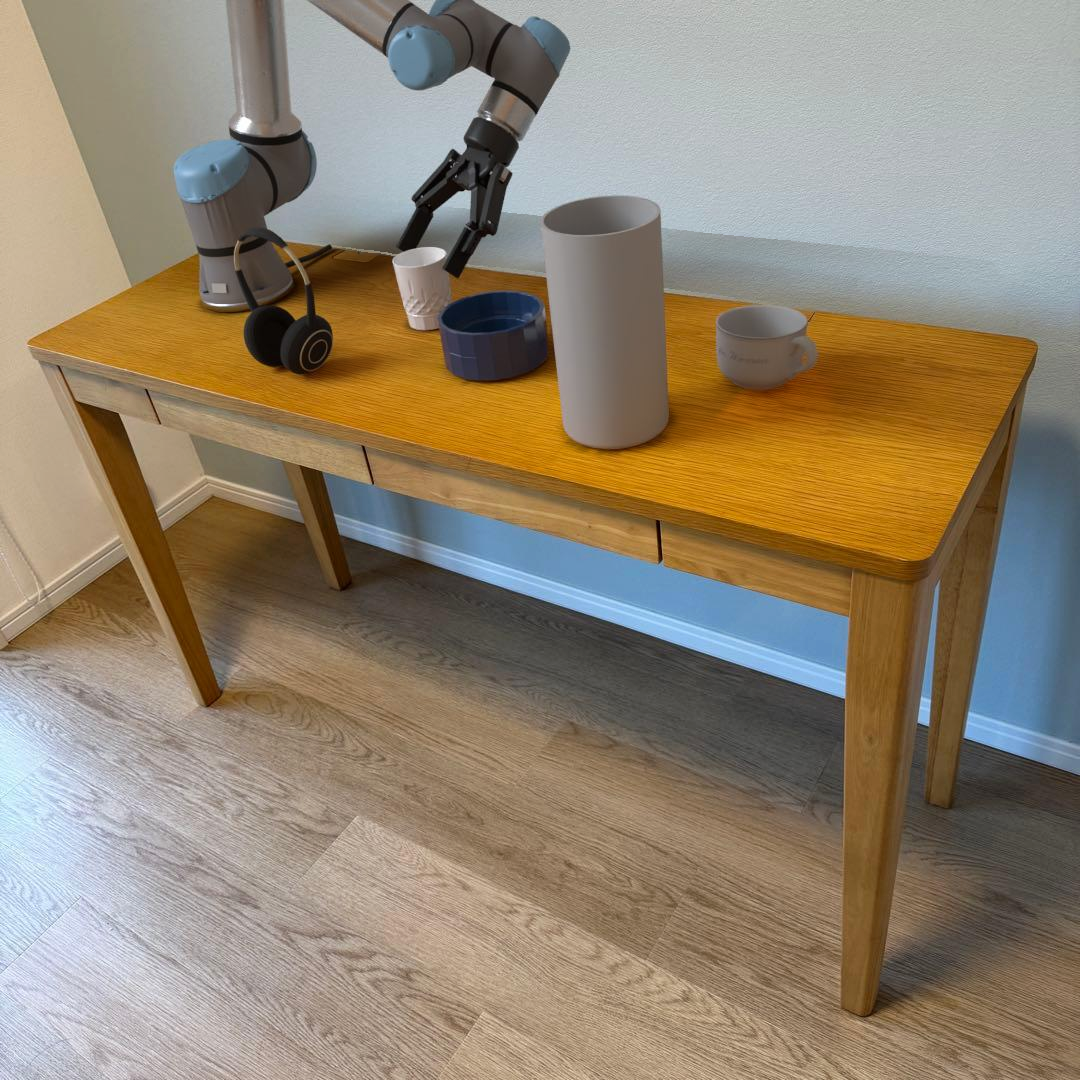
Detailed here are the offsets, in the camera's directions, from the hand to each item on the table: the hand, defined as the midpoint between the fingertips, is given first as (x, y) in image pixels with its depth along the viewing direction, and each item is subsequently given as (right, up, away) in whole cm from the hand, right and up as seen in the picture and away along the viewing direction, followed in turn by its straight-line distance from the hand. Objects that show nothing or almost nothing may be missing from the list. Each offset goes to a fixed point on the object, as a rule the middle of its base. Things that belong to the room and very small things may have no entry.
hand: (426, 262), depth 145 cm
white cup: (0, -8, +5) cm, 9 cm away
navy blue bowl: (+11, -16, -9) cm, 21 cm away
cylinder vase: (+26, -27, -27) cm, 46 cm away
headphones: (-18, -16, -3) cm, 24 cm away
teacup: (+44, -21, -22) cm, 54 cm away
